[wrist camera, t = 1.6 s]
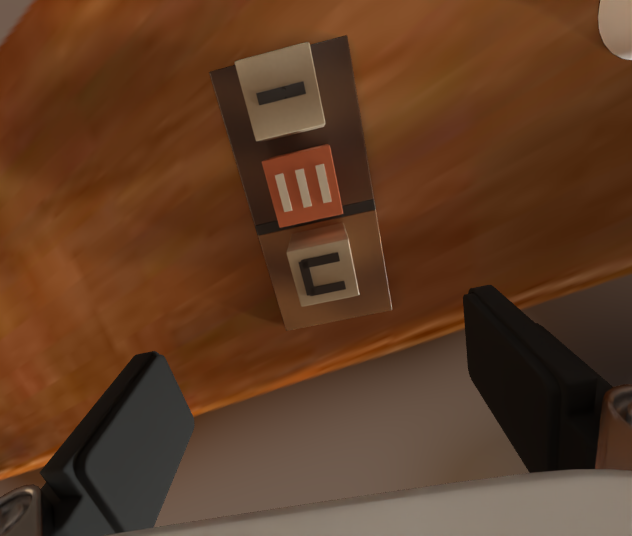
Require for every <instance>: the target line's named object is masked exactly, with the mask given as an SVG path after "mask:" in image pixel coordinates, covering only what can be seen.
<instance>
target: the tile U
mask: <svg viewBox="0 0 632 536" xmlns="http://www.w3.org/2000/svg"><path fill="white" fill-rule="evenodd" d="M287 257H288V260H289V264H290V268H291V271H292V275H293V279H294V282H295V286H296V290H297V293H298V297H299V301H300V304H301V306H302V307H303V306H308V305H313V304H318V303H323V302H328V301H333V300H338V299H343V298H348V297H353V296H358V295H359V289H358V284H357V279H356V274H355V269H354V264H353V259H352V254H351V249H350V244H349V239H348V236H347V233H346V229H345V226H344V223H339V224H335V225H330V226H326V227H321V228H317V229H312V230H308V231H303V232H299V233H294V234H292V235H291V238H290V242H289V246H288V249H287Z"/></svg>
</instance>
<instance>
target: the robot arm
mask: <svg viewBox="0 0 632 536" xmlns="http://www.w3.org/2000/svg"><path fill="white" fill-rule="evenodd" d="M463 306H464V319H465V333H466V346H467V360H468V371H469V374H470V377H471V380H472V381H473V383H474V384H475V386H476V388H477V389H478V391H479V392H480V394H481V396H482V397H483V399H484V401H485V402H486V404H487V405H488V407H489V408H490V410H491V412H492V413H493V415H494V417H495V418H496V420H497V421H498V423H499V424H500V426H501V428H502V429H503V431H504V433H505V434H506V436H507V437H508V439H509V441H510V442H511V444H512V445H513V446H514V449H515V450H516V452H517V453H518V455H519V456H520V458H521V459H522V461H523V463H524V464H525V466H526V468H527V469H528V471H529V472H530V473H526V474H517V475H510V476H502V477H494V478H486V479H478V480H471V481H462V482H454V483H447V484H440V485H434V486H426V487H420V488H413V489H406V490H399V491H393V492H385V493H378V494H371V495H365V496H357V497H351V498H344V499H337V500H330V501H324V502H317V503H310V504H304V505H298V506H291V507H284V508H277V509H271V510H264V511H257V512H251V513H244V514H238V515H231V516H225V517H218V518H212V519H205V520H199V521H192V522H186V523H180V524H174V525H167V526H160V527H154V525H155V522H156V520H157V517H158V515H159V512H160V510H161V508H162V505H163V503H164V500H165V498H166V495H167V493H168V490H169V488H170V485H171V483H172V481H173V478H174V476H175V473H176V471H177V469H178V466H179V464H180V461H181V459H182V456H183V454H184V451H185V449H186V447H187V444H188V442H189V439H190V437H191V435H192V432H193V429H194V418H193V415H192V413H191V411H190V409H189V407H188V405H187V403H186V401H185V399H184V397H183V394H182V392H181V390H180V388H179V386H178V384H177V382H176V380H175V378H174V376H173V373H172V371H171V369H170V367H169V365H168V363H167V361H166V359H165V357H164V356H163V355H159V353H157V352H155V351H152V352H147V353H142V354H138V355H135V356H134V357H133V358H132V359H131V361H130V362H129V363H128V364H127V366H126V367H125V368H124V369H123V370H122V372H121V373H120V374H119V375H118V377H117V378H116V379H115V380H114V382H113V383H112V384H111V385H110V387H109V388H108V389H107V390H106V391H105V393H104V394H103V395H102V396H101V398H100V399H99V400H98V401H97V403H96V404H95V405H94V406H93V407H92V409H91V410H90V411H89V412H88V414H87V415H86V416H85V417H84V419H83V420H82V421H81V422H80V424H79V425H78V426H77V427H76V428H75V430H74V431H73V432H72V433H71V435H70V436H69V437H68V438H67V440H66V441H65V442H64V443H63V444H62V446H61V447H60V448H59V449H58V451H57V452H56V453H55V454H54V456H53V457H52V458H51V459H50V460H49V462H48V463H47V464H46V465H45V467H44V468H43V469H42V470H41V472H40V474H41V475H42V477H43V478H44V479H45V481H46V483H45V485H44V486H43V487H42V488H41V489H40V488H39V487H38V486H36V485H24V486H22V487H19V488H16V489H14V490H12V491H10V492H8V493H6V494H4V495H3V496H2V497H0V536H632V385H620V386H616V387H612V386H611V385H610V384H609V383H608V382H607V381H605V380H604V379H603V378H602V377H601V376H600V375H598V374H597V373H596V372H595V371H594V370H593V369H591V368H590V367H589V366H588V365H587V364H586V363H585V362H583V361H582V360H581V359H580V358H579V357H578V356H576V355H575V354H574V353H573V352H572V351H571V350H569V349H568V348H567V347H566V346H565V345H564V344H562V343H561V342H560V341H559V340H558V339H557V338H555V337H554V336H553V335H552V334H551V333H550V332H548V331H547V330H546V329H545V328H544V327H543V326H541V325H539V324H537V323H534V322H533V321H532V320H531V319H530V318H529V317H528V316H526V315H525V314H524V313H523V312H522V311H521V310H520V309H518V308H517V307H516V306H515V305H514V304H513V303H512V302H510V301H509V300H508V299H507V298H506V297H505V296H504V295H502V294H501V293H500V292H499V291H498V290H497V289H496V288H494V287H493V286H492V285H486V286H481V287H476V288H471V289H470V290H469V293H468V294H466V295H464V296H463ZM153 527H154V528H153Z"/></svg>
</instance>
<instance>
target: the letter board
mask: <svg viewBox="0 0 632 536" xmlns="http://www.w3.org/2000/svg"><path fill="white" fill-rule="evenodd" d="M310 48H311V53H312V58H313V63H314V68H315V73H316V78H317V83H318V88H319V93H320V98H321V103H322V108H323V113H324V118H325V125H324V127H321V128H317V129H313V130H309V131H305V132H301V133H297V134H293V135H289V136H285V137H281V138H276V139H272V140H268V141H256V139H255V136H254V132H253V128H252V125H251V121H250V117H249V114H248V110H247V106H246V103H245V99H244V95H243V92H242V88H241V84H240V81H239V77H238V73H237V70H236V66H235V65H233V66H230V67H226V68H222V69H218V70H215V71H211V72H209V74H210V77H211V80H212V84H213V87H214V90H215V94H216V97H217V100H218V104H219V107H220V110H221V114H222V117H223V121H224V124H225V127H226V131H227V134H228V137H229V141H230V144H231V147H232V151H233V154H234V157H235V161H236V164H237V167H238V171H239V174H240V177H241V181H242V184H243V187H244V191H245V194H246V198H247V201H248V204H249V208H250V211H251V214H252V218H253V221H254V224H255V228H256V231H257V234H258V238H259V241H260V244H261V248H262V251H263V254H264V258H265V261H266V265H267V268H268V271H269V275H270V278H271V281H272V285H273V288H274V291H275V295H276V298H277V301H278V305H279V308H280V311H281V315H282V318H283V321H284V325H285V328H286V331H288V330H293V329H298V328H303V327H308V326H313V325H318V324H323V323H329V322H334V321H339V320H344V319H349V318H354V317H359V316H364V315H369V314H374V313H380V312H385V311H390V310H392V305H391V299H390V293H389V287H388V281H387V275H386V268H385V262H384V256H383V250H382V244H381V238H380V232H379V226H378V220H377V214H376V210H375V209H376V207H375V201H374V195H373V189H372V183H371V177H370V171H369V165H368V159H367V153H366V147H365V141H364V135H363V128H362V122H361V116H360V110H359V104H358V98H357V92H356V86H355V80H354V74H353V68H352V61H351V55H350V49H349V43H348V37H347V35H345V36H342V37H338V38H334V39H330V40H327V41H323V42H319V43H316V44H312V45H310ZM325 144H328V145H330V148H331V153H332V158H333V164H334V169H335V174H336V179H337V184H338V189H339V194H340V199H341V204H342V209H343V214H340V215H335V216H331V217H326V218H322V219H317V220H313V221H308V222H304V223H299V224H295V225H290V226H286V227H281V228H280V227H279V224H278V220H277V217H276V213H275V209H274V206H273V202H272V198H271V195H270V191H269V187H268V183H267V180H266V176H265V172H264V169H263V165H262V161H264V160H267V159H269V158H271V157H275V156H279V155H283V154H287V153H292V152H296V151H300V150H304V149H308V148H312V147H316V146H321V145H325ZM339 223H344V226H345V229H346V233H347V236H348V239H349V244H350V249H351V254H352V259H353V264H354V269H355V274H356V279H357V284H358V289H359V295H358V296H353V297H348V298H343V299H338V300H333V301H328V302H323V303H318V304H313V305H308V306H303V307H302V306H301V304H300V301H299V297H298V293H297V290H296V286H295V282H294V279H293V275H292V271H291V268H290V264H289V260H288V257H287V249H288V246H289V242H290V238H291V235H292V234H294V233H299V232H303V231H308V230H312V229H317V228H321V227H326V226H330V225H335V224H339Z"/></svg>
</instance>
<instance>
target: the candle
mask: <svg viewBox="0 0 632 536" xmlns="http://www.w3.org/2000/svg"><path fill="white" fill-rule="evenodd" d="M598 24H599V32H600V35H601V37H602V40H603V42H604V44H605V45H606V47H607V48H608V49H609V50H610V51H611V52H612V53H613V54H615V55H617V56H618V57H620V58H622V59H628V60H632V0H600V5H599V13H598Z"/></svg>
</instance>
